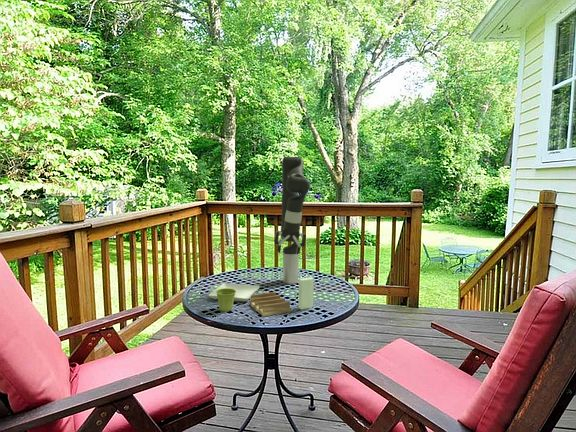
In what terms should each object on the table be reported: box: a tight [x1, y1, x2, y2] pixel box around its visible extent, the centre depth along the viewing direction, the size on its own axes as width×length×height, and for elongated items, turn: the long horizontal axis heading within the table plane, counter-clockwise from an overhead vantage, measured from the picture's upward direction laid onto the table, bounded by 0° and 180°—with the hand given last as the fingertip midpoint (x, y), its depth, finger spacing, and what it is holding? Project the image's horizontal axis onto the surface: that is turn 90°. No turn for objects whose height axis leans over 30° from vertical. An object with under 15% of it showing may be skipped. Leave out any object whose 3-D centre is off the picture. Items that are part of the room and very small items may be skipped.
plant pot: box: [216, 288, 236, 312], centre depth 176 cm, size 9×9×9 cm
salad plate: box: [208, 282, 260, 302], centre depth 196 cm, size 21×21×3 cm
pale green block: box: [297, 276, 315, 310], centre depth 179 cm, size 3×6×14 cm, turn 116°
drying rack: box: [249, 291, 292, 317], centre depth 179 cm, size 17×14×4 cm
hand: (288, 253), depth 177 cm, fingers open, 8 cm apart
